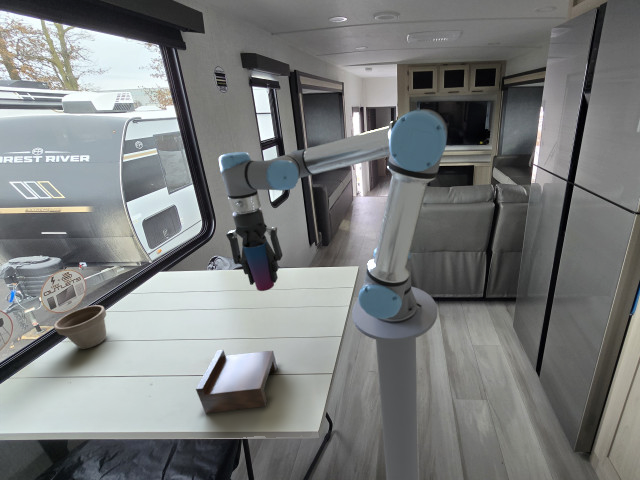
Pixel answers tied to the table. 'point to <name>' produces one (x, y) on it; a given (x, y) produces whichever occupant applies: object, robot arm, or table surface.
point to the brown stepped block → (235, 381)
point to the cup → (259, 265)
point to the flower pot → (84, 326)
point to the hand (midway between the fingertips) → (264, 281)
